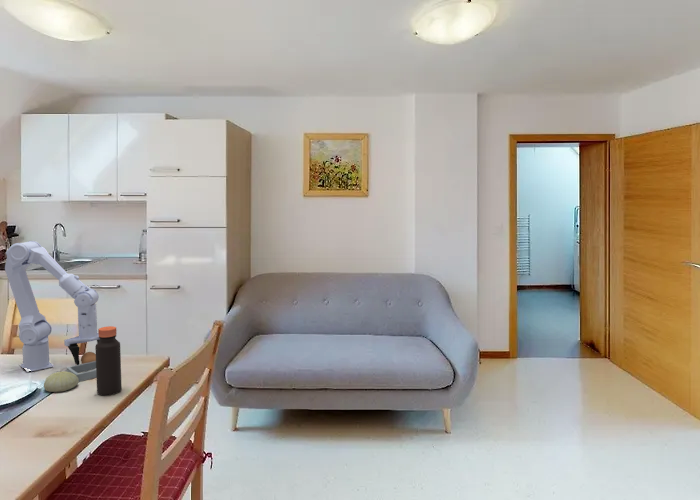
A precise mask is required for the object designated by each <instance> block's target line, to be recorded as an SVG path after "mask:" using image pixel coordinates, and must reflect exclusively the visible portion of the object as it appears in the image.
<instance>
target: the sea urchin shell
mask: <svg viewBox="0 0 700 500" xmlns="http://www.w3.org/2000/svg"><path fill="white" fill-rule="evenodd" d="M78 381H79V380H78V377H77V376H76V375H75V374H73V373H71V372H67V370H65V371H57V372H54V373H51V374H49V375H48V376H47V377H46V379H45V380H44V382H43V388H44V390H45V391H47V392H49V393H50V392H52V393H59V392H60V393H61V392H65V391H69V390H71V389H74V388H75V387H76V386H77V385H78V384H79V382H78Z"/></svg>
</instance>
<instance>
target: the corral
mask: <svg viewBox="0 0 700 500" xmlns="http://www.w3.org/2000/svg"><path fill="white" fill-rule="evenodd" d="M65 369H66V370H65V371H67V372H71V373H73V374H75V375H76V376H77V377H78V380H79V381H78V383H80V382H84V381H87V380H92V379H95V378H96V379H97V377H96V361H93V362H89V363H84V364H82V363H81V364H80V363H79V365H76V364H75V365H71V366H67V367H66V368H65Z"/></svg>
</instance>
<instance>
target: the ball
mask: <svg viewBox="0 0 700 500" xmlns="http://www.w3.org/2000/svg"><path fill="white" fill-rule="evenodd" d="M93 361H96V352H95V353H94V352H92V351H87V352H85V353H83V354H82V355H81V357H80V362H81V364H84V363H89V362H93Z"/></svg>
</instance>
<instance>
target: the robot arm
mask: <svg viewBox="0 0 700 500" xmlns="http://www.w3.org/2000/svg"><path fill="white" fill-rule="evenodd" d="M5 255H6V260H5V261H6V262H5V265H4V271H5V275H6V277H7V279H8V283H9V286H10V288H11V292H12V294H13V297H14V301H15V303H16V306H17V310H18V312H19V315H20V318H21V319H20V320H19V323H18V328H19V332H18V333H19V334H18V338H19V340H20V342H21V343H22V344H23V346H22V348H21V349H22V351H21V352H22V363H21V364H19V366H20V368H22V369H23V368H27V369H30V370H31V372H35V371H40V370H45V369H49V368H54V364H53V363H51V362H50V345H49V344H50V342H49V335H51V333H52V325H51V324H50V322H48V320H47V319H46V316H45V315H43V314H42V313H41V312H40V310H39V308H38V304H37V301H36V298H35V295H34V292H33V289H32V286H31V284H30V280H29V277H28V275H27V271H26V270H27V268H28V267H29V266H30V265H31V264H34V265H40V266H41V267H42V268H43V269H45V270H46V271H47V272H48V273H49V274H51V276H53V277H54V278H56V279H57V280H58V286H59V287H60V288H61V289H62V290H64V291H65V292H66V293H67V294H68V295H69V296H70V297H71V298H72V299H74V300H73V301H74V302H73V303H74V305H75V306H76V307H77V325H78V335H77V336H74V337H71V338H70V337H69V338H67V339H64V340H63V342H64V343H63V344H64V346H66V347H67V348H68V349H69V352H70V353H71V354H72V357H73V360H74V364H75V365H80V349H81V348H80V346H79V345H78V344H83V343H88V342H94V341H96V344H97V343H98V342H99V341H100V338H99V335H98V322H97V321H98V317H97V316H98V315H97V314H98V313H97V302H98V301H99V294H98V292H97V291H96V289H94V288H90V287H89V286H88V285H86V284H85V283H84V282H83V281H82V280H80V276H79V275H78V274H77V275H75V274H74V273H67V271H66V270H65V269H64V268H63V266H61V265H60V264H59V263H58V262H57V260H55V259H54V257H52V256H51V255H50V253H49V252H48V251H47V249H46V247H44V246H42V245H41V244H40V242H38V241H36V240H29V241H25V242H24V241H23V242H16V243H13V244H11V246H10V247H9V248H8V249H7V250H6V252H5Z"/></svg>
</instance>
